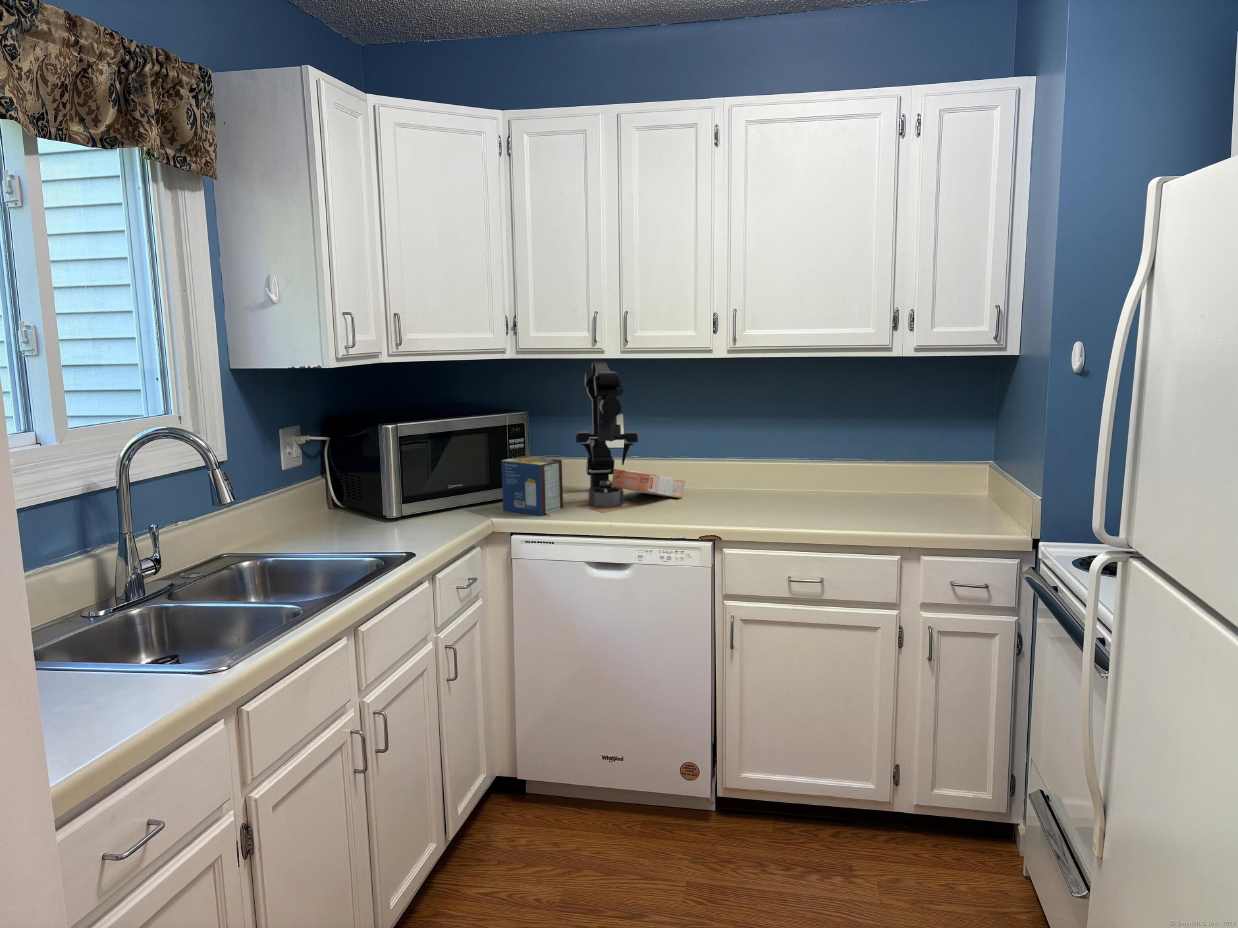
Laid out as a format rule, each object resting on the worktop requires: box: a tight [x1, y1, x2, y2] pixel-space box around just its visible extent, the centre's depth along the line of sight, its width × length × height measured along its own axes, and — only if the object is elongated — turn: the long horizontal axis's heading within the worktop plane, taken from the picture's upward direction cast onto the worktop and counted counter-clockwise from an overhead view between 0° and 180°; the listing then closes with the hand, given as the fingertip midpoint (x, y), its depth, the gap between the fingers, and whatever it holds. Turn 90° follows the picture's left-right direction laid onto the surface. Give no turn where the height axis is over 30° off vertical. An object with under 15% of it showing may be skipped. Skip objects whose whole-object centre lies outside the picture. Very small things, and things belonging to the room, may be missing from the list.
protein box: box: [500, 455, 564, 517], centre depth 257 cm, size 10×15×16 cm
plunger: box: [600, 479, 612, 492], centre depth 262 cm, size 7×7×7 cm
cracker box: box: [611, 468, 686, 499], centre depth 271 cm, size 14×6×21 cm
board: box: [563, 496, 645, 514], centre depth 264 cm, size 22×16×1 cm
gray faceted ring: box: [587, 487, 624, 508], centre depth 263 cm, size 13×10×4 cm
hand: (607, 464), depth 262 cm, fingers open, 9 cm apart
